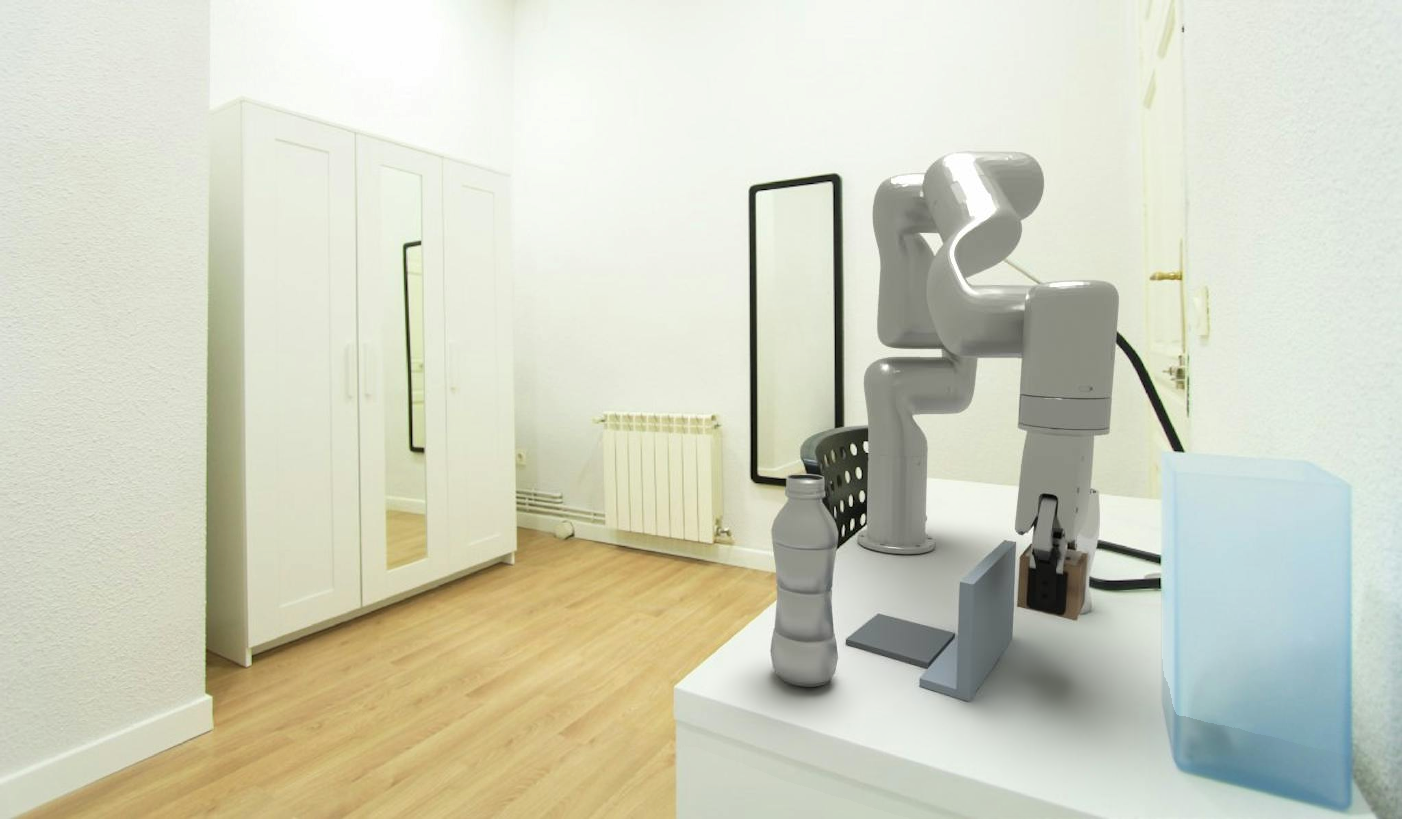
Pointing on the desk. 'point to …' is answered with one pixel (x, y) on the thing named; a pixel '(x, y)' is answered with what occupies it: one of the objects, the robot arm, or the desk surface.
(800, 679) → the plastic bottle
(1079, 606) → the letter cube
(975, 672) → the screen
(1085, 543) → the beer glass
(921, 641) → the mat
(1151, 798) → the desk surface
